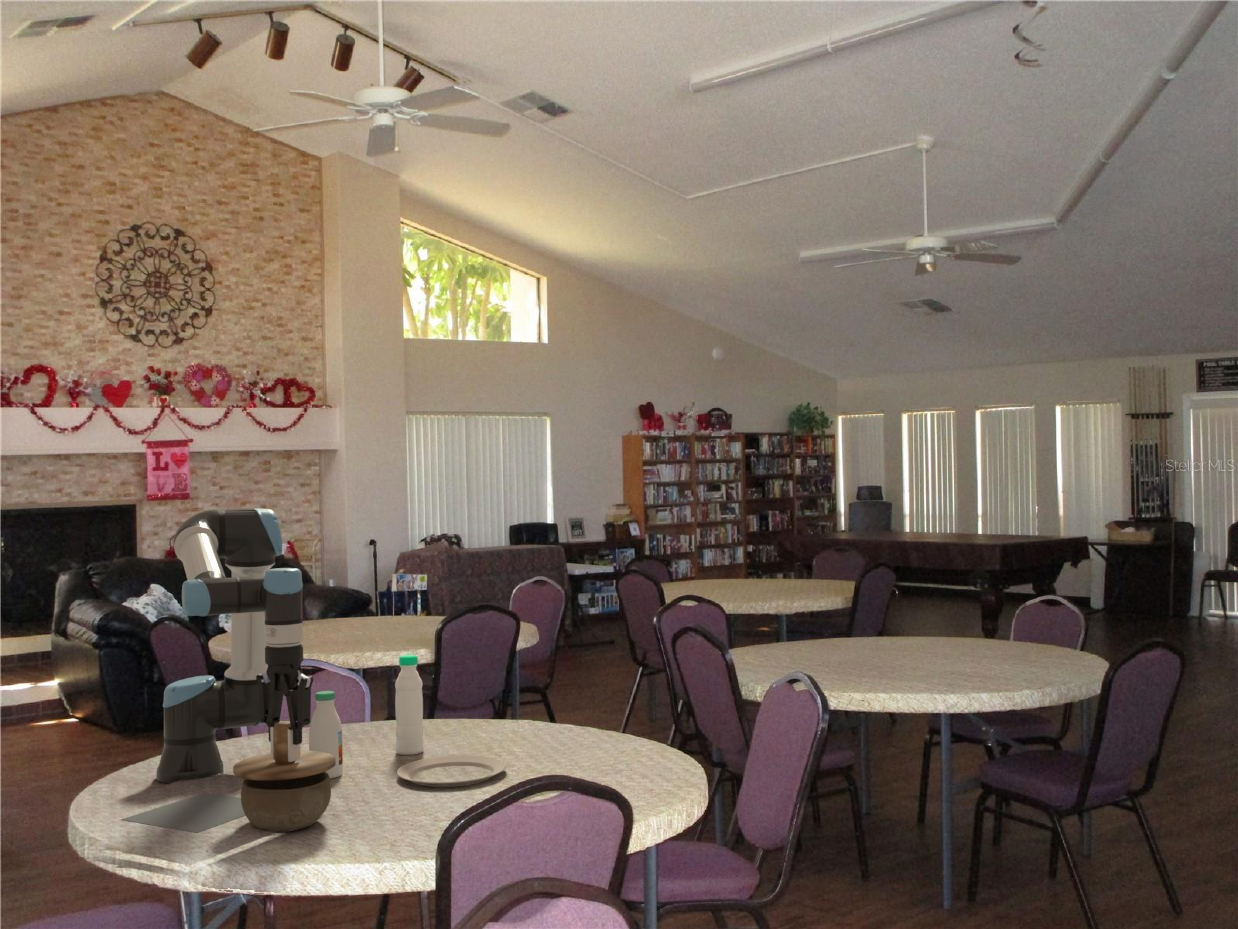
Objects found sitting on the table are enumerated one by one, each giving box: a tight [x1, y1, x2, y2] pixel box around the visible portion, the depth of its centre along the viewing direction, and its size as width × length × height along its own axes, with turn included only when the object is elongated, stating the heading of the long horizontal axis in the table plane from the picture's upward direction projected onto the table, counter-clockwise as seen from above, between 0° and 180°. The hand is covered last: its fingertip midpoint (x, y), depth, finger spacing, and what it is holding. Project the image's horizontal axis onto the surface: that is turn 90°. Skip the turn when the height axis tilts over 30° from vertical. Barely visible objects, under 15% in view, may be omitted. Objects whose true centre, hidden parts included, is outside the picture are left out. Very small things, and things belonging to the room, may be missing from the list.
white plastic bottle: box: [394, 654, 425, 756], centre depth 287 cm, size 7×7×25 cm
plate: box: [396, 754, 506, 788], centre depth 262 cm, size 26×26×2 cm
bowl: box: [240, 772, 332, 833], centre depth 225 cm, size 17×18×10 cm
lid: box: [232, 720, 336, 780], centre depth 225 cm, size 20×20×9 cm
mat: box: [120, 792, 246, 834], centre depth 233 cm, size 22×22×1 cm
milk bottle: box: [308, 690, 344, 780], centre depth 264 cm, size 8×8×20 cm
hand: (285, 759), depth 225 cm, fingers closed on lid, 4 cm apart
